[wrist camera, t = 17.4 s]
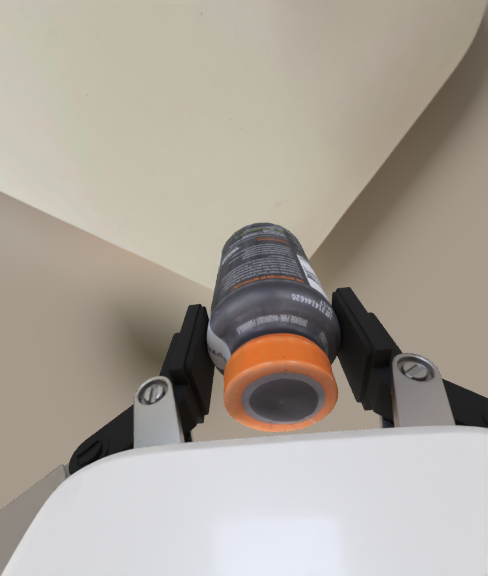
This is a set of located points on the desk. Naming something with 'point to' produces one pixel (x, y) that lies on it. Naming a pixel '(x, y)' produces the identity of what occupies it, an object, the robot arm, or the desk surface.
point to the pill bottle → (272, 332)
